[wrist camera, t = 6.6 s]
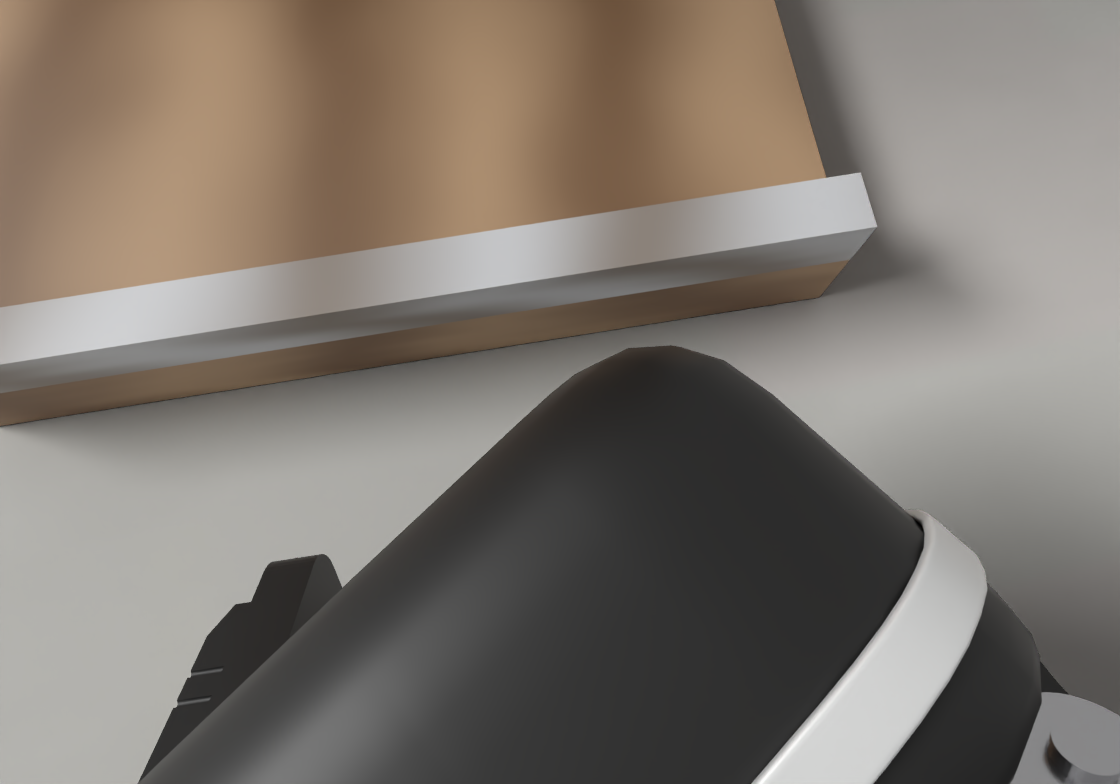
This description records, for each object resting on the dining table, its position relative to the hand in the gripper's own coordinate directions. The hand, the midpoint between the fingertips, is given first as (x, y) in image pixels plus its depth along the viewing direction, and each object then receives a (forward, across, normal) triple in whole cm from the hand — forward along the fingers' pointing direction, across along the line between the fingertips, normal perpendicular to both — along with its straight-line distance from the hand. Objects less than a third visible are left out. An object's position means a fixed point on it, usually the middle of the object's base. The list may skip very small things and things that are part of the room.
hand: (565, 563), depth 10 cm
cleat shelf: (+12, +3, -4) cm, 13 cm away
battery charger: (+2, 0, +5) cm, 5 cm away
